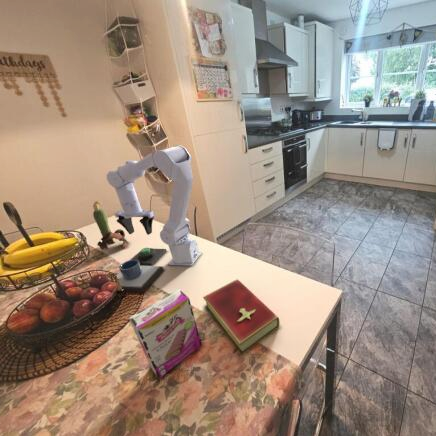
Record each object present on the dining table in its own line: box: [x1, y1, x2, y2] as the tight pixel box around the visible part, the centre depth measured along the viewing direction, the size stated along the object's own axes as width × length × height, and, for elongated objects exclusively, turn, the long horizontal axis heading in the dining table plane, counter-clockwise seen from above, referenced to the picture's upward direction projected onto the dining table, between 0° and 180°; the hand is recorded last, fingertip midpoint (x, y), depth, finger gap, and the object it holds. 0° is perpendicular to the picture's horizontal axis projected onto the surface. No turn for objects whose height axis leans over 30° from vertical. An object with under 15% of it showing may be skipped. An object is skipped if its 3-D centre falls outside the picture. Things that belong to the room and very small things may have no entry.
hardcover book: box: [202, 278, 280, 355], centre depth 69 cm, size 12×21×4 cm, turn 41°
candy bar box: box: [128, 288, 202, 380], centre depth 56 cm, size 11×5×16 cm, turn 141°
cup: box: [118, 259, 142, 280], centre depth 84 cm, size 6×6×4 cm
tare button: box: [140, 247, 150, 255], centre depth 97 cm, size 3×3×2 cm
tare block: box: [130, 247, 168, 266], centre depth 97 cm, size 10×10×3 cm
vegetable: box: [92, 200, 112, 237], centre depth 106 cm, size 4×4×20 cm
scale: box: [115, 265, 165, 294], centre depth 86 cm, size 14×12×2 cm
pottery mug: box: [97, 228, 130, 251], centre depth 106 cm, size 12×10×8 cm
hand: (140, 233), depth 97 cm, fingers open, 7 cm apart
